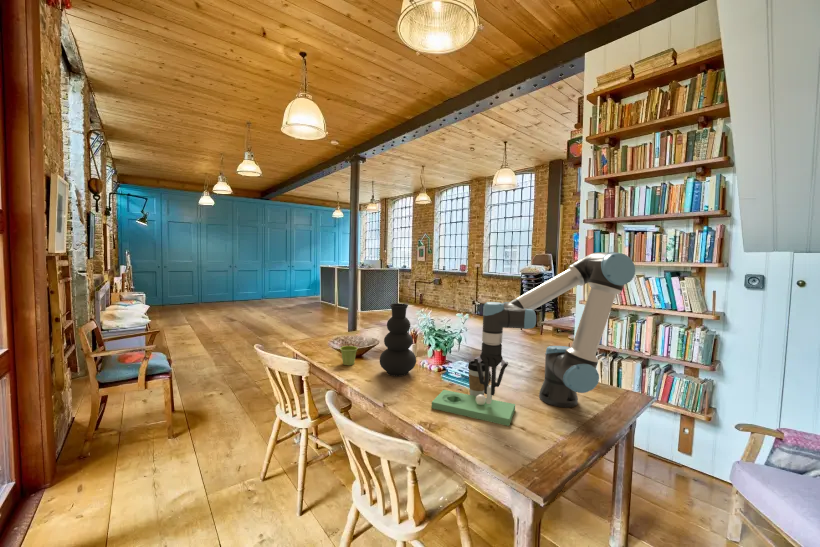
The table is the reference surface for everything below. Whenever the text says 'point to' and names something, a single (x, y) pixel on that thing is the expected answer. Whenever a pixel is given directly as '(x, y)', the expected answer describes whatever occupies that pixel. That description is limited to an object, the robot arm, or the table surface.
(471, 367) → the coffee cup
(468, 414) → the block
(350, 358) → the plant pot
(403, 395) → the table surface
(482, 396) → the ball
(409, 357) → the vase
